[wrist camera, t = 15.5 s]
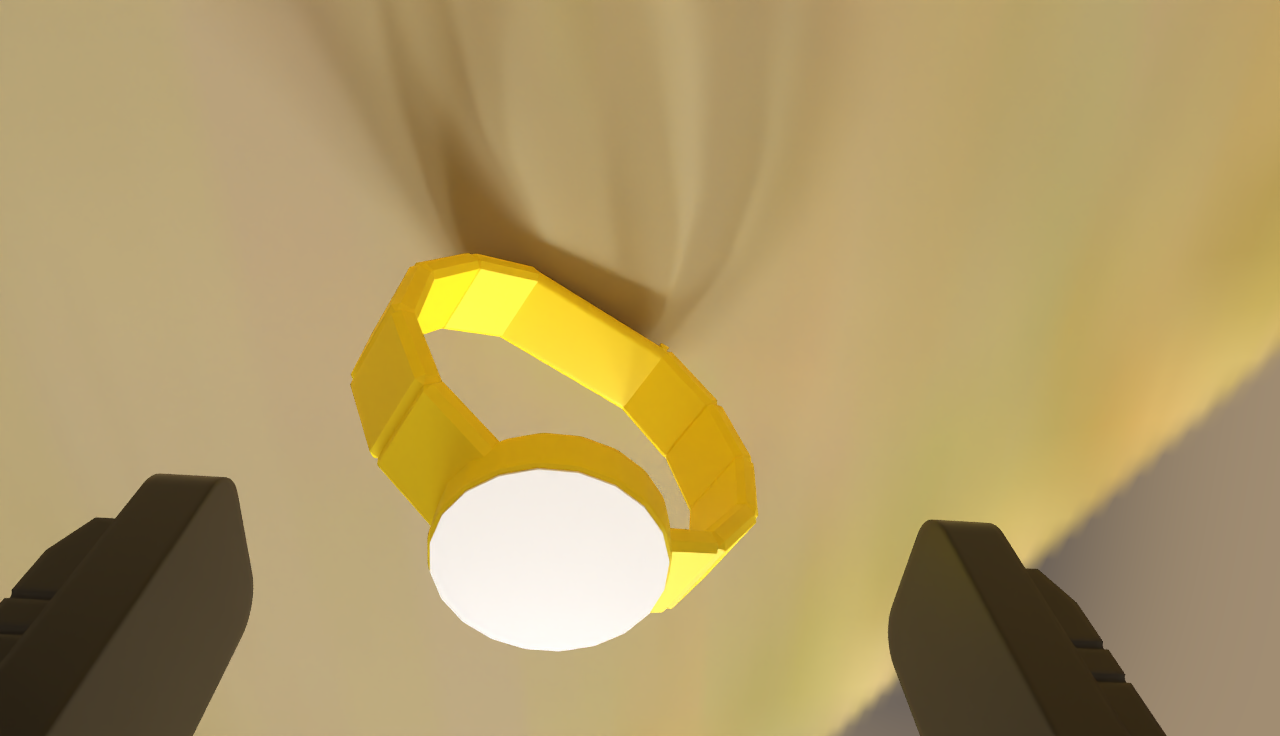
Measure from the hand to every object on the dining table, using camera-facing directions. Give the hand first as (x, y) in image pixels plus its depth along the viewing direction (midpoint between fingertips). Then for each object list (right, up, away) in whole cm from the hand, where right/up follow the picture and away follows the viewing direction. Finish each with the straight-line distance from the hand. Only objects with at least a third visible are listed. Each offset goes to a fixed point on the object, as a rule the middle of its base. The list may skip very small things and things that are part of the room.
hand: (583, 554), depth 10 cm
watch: (-1, +3, +5) cm, 6 cm away
